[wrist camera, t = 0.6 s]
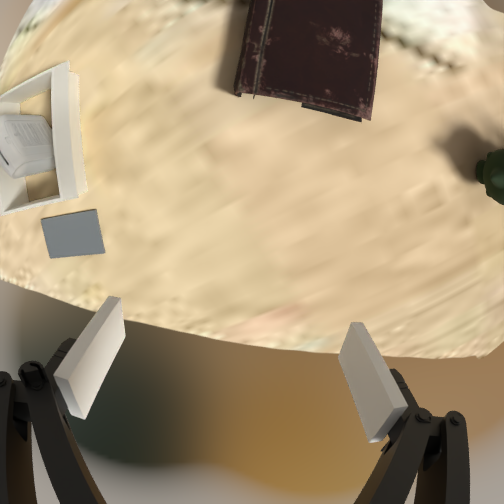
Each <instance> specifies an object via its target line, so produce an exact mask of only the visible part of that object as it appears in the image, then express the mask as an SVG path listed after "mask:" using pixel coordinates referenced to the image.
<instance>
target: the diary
mask: <svg viewBox="0 0 504 504" xmlns="http://www.w3.org/2000/svg"><path fill="white" fill-rule="evenodd" d="M382 7H383V0H251V3H250V7H249V12H248V16H247V22H246V27H245V33H244V38H243V44H242V50H241V55H240V59H239V64H238V68H237V73H236V78H235V82H234V91H235V95H236V96H238V97H241V94H242V93H249V94H254V96H255V95H262V96H269V97H275V98H281V99H286V100H292V101H297V102H302V106H301V107H303V108H307V109H312V110H316V111H320V112H324V113H328V114H332V115H335V116H339V117H343V118H346V119H350V120H354V121H358V122H362V118H364V119H367V120H370V121H371V114H372V107H373V100H374V93H375V85H376V77H377V68H378V57H379V45H380V34H381V22H382ZM253 99H254V97H253Z"/></svg>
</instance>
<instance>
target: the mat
mask: <svg viewBox="0 0 504 504" xmlns="http://www.w3.org/2000/svg"><path fill="white" fill-rule="evenodd" d="M41 223H42V227H43V232H44V236H45V240H46V244H47V248H48V252H49V255H50V258H60V257H71V256H81V255H92V254H103V253H105V249H104V244H103V240H102V235H101V230H100V225H99V220H98V215H97V210H90V211H84V212H79V213H73V214H67V215H62V216H56V217H51V218H46V219H42V220H41Z"/></svg>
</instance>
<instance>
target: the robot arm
mask: <svg viewBox="0 0 504 504" xmlns="http://www.w3.org/2000/svg"><path fill="white" fill-rule="evenodd" d="M124 338H125V329H124V321H123V313H122V303H121V298H118V297H113V296H109V297H108V298H107V299H106V301H105V302H104V303H103V304H102V306H101V307H100V308H99V310H98V311H97V312H96V314H95V315H94V317H93V318H92V319H91V321H90V322H89V324H88V325H87V326H86V328H85V329H84V330H83V332H82V333H81V335H80V336H79V337H78V339H77V340H76V339H72V338H69V339H67V340H66V341H64V342H63V343H62V344H61V345H60V346H59V348H58V350H57V351H56V352H55V354H54V356H52V358H51V359H50V360H49V362H48V363H47V365H46V366H45V368H43V365H42V364H41V363H39V362H37V361H28V362H26V363H24V364H23V365H21V367H20V368H19V371H18V375H19V377H20V379H21V381H17V380H12V378H11V376H10V374H9V373H7V372H3V371H1V372H0V504H37V500H36V492H35V484H34V474H33V462H32V439H31V422H32V424H33V428H34V432H35V435H36V439H37V443H38V446H39V449H40V453H41V455H42V459H43V461H44V464H45V467H46V470H47V473H48V475H49V478H50V481H51V483H52V486H53V488H54V491H55V493H56V495H57V497H58V500H59V502H60V504H106V501H105V500H104V498H103V496H102V495H101V493H100V491H99V489H98V487H97V485H96V484H95V481H94V480H93V478H92V476H91V474H90V472H89V470H88V467H87V466H86V463H85V461H84V459H83V457H82V455H81V452H80V450H79V448H78V446H77V443H76V441H75V438H74V436H73V433H72V430H71V428H70V425H69V423H68V420H67V418H66V415H65V412H66V410H67V408H68V409H69V411H70V413H71V415H74V416H76V417H79V418H82V419H85V418H86V416H87V414H88V412H89V410H90V407H91V405H92V403H93V401H94V399H95V397H96V394H97V392H98V390H99V388H100V386H101V384H102V382H103V380H104V378H105V376H106V374H107V372H108V370H109V368H110V366H111V364H112V362H113V360H114V358H115V356H116V354H117V352H118V350H119V348H120V346H121V344H122V342H123V340H124ZM338 359H339V362H340V364H341V367H342V370H343V372H344V375H345V378H346V380H347V383H348V386H349V388H350V391H351V394H352V396H353V399H354V402H355V405H356V407H357V410H358V413H359V416H360V419H361V421H362V424H363V427H364V430H365V433H366V436H367V439H368V442H369V443H371V442H377V441H382V440H383V439H384V438H385V437H386V435H387V434H388V436H389V438H390V440H389V441H388V442H387V444H386V445H385V446H384V447H383V448H382V450H381V451H383V453H382V455H381V457H380V458H379V460H378V463H377V464H376V466H375V468H374V470H373V472H372V474H371V476H370V477H369V479H368V481H367V483H366V484H365V486H364V488H363V489H362V491H361V493H360V494H359V496H358V498H357V499H356V501H355V503H354V504H404V503H405V501H406V498H407V496H408V494H409V491H410V489H411V486H412V484H413V482H414V479H415V477H416V474H417V471H418V476H417V486H416V493H415V499H414V504H470V468H469V466H470V465H469V448H468V437H467V427H466V421H465V418H464V416H463V415H462V414H460V413H459V412H457V411H450V412H448V413H447V415H446V416H445V417H435V416H432V414H431V413H430V412H429V411H428V410H426V409H424V408H419V406H418V404H417V402H416V401H415V399H414V397H413V395H412V393H411V392H410V390H409V389H408V386H407V384H406V383H405V381H404V379H403V377H402V375H401V374H400V373H399V372H398V371H397V370H396V369H389V368H388V367H387V365H386V363H385V361H384V359H383V358H382V356H381V354H380V352H379V350H378V349H377V347H376V345H375V343H374V341H373V340H372V338H371V336H370V334H369V333H368V331H367V329H366V327H365V326H364V324H363V323H361V322H351V324H350V327H349V330H348V332H347V335H346V338H345V341H344V343H343V346H342V348H341V351H340V354H339V356H338Z"/></svg>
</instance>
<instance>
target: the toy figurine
mask: <svg viewBox="0 0 504 504" xmlns="http://www.w3.org/2000/svg"><path fill="white" fill-rule="evenodd" d="M476 175H477V179H478V181H479V182H480V183H481V184H485V187H486V194H487V196H489V197H492V198H493V199H494V200H495V201H497V202H498V203H500V204H502V205H504V149H501V150H496V151H494V152H489V153H488V154H487V159H486V161H485V160H481V161H479V162H478V163H477V168H476Z"/></svg>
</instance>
